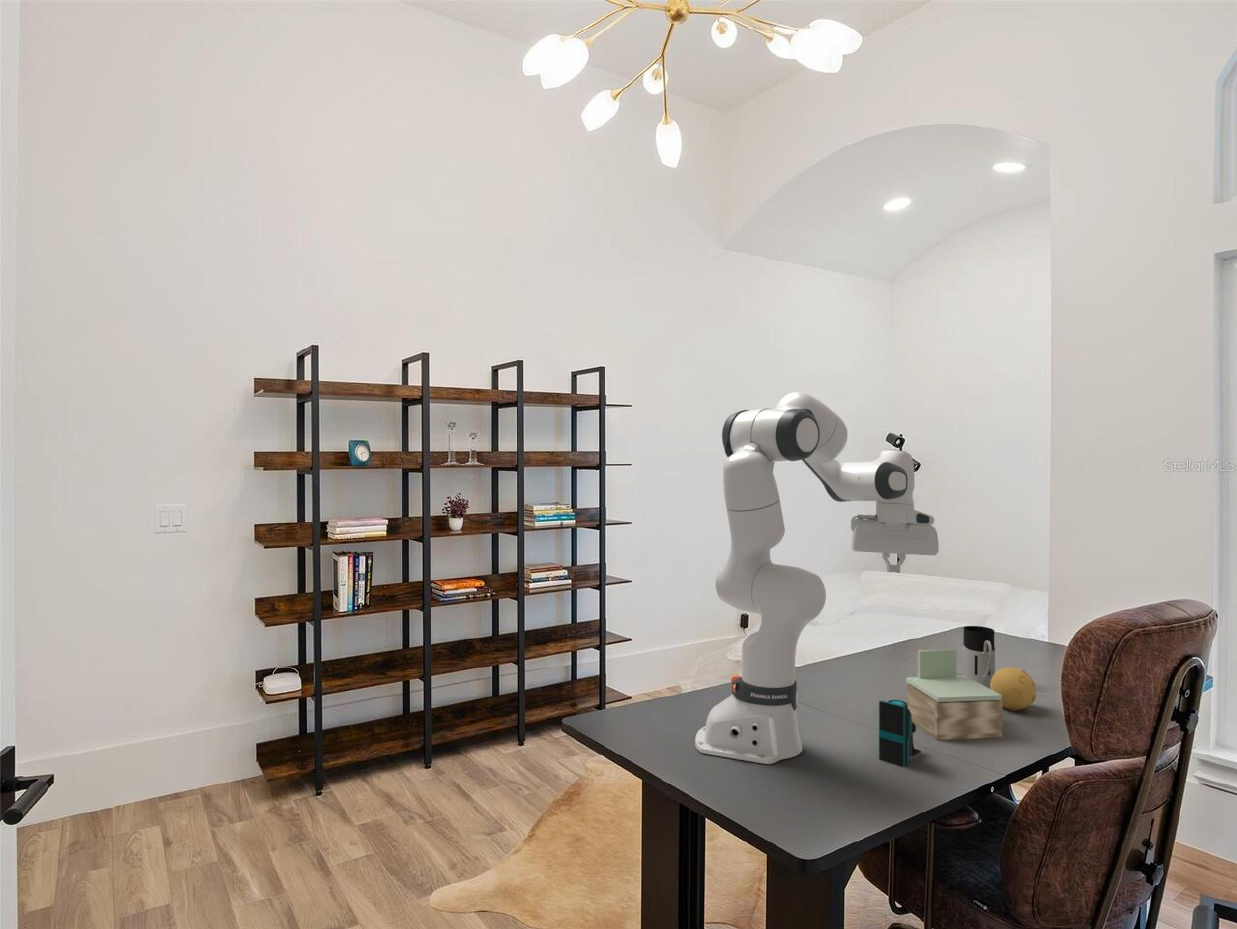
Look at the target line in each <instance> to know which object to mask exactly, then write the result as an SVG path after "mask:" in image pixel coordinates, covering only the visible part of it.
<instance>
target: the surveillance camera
mask: <svg viewBox="0 0 1237 929" xmlns="http://www.w3.org/2000/svg"><path fill="white" fill-rule="evenodd" d="M916 727H917V725H916V724H915V723H913V722H912V714H911V712H910V710H909V709H908V702H907V701H903V700H900V699H890V700H888V701H885V700H879V701H878V759H879V761H882V762H884V763H885V762H886V763H889V764H892V765H895V766H898V767H900V768H901V767H906V766H907V765H908V764H909V762H910V756H911V757H915V756H916V755H918V754H919V753H920V752H921V750H920V749H917V748H915V746H914V733H915V732H916V731H917V728H916Z"/></svg>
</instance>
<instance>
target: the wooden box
mask: <svg viewBox="0 0 1237 929" xmlns="http://www.w3.org/2000/svg"><path fill="white" fill-rule="evenodd" d="M907 703H908V709H909V710H910V712H911V714H912V722H913V723H914V724H915V726H916V727H917V726H918V727H919V728H920V729H922V730H923V731H924V732H925V733H926V734H928V735H929V736H931V737H932V738H934V739H935V740H937V741H940V740H941V741H942V740H946V741H947V740H964V739H965V740H967V739H969V740H970V739H971V740H972V739H990V738H991V739H993V738H994V739H995V738H1003V706H1002V701H1001V700H980V701H952V702H937V701H936V700H934V699H933V698H931V697H930V696H928V695H926V694H925V693H923V692H922V691H920V690H918V689H917V688H915V687H914V686H912V685H911V684H909V683H907Z"/></svg>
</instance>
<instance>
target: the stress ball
mask: <svg viewBox="0 0 1237 929" xmlns="http://www.w3.org/2000/svg"><path fill="white" fill-rule="evenodd" d="M990 689H991V690H993V691H995V692H996V693H998V694H1000V695H1002V699H1001V701H1002V707H1005V708H1006V709H1007V710H1008V711H1009V710H1010V711H1013V712H1015V711H1019V710H1022V709H1026V708H1027V707H1029V706H1030V705H1031V704H1034V702H1035V700H1036V698H1037V695H1036V694H1037V688H1036V683H1035V681H1034V679H1033V677H1032V676H1030V675H1029V674H1028V673H1027V672H1026V670H1023V669H1020V668H1019V667H1018V668H1017V667H1008V666H1007V667H1002V668H1001V669H999V670H997V671H995V674H994V675H993V677H992V679H991V682H990Z"/></svg>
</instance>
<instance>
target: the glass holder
mask: <svg viewBox="0 0 1237 929" xmlns="http://www.w3.org/2000/svg"><path fill="white" fill-rule="evenodd" d="M995 673H996V647H995V629H994V628H991V627H986V626H980V625H979V626H978V625H967V626H964V627H963V642H962V676H966V677H968V678H970V679H972V680H974V681H976V682H978V683H980V684H981V685H983V686H985V687H987V688H989V689H990V682H991V679H992V677H993V675H994V674H995Z"/></svg>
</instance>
